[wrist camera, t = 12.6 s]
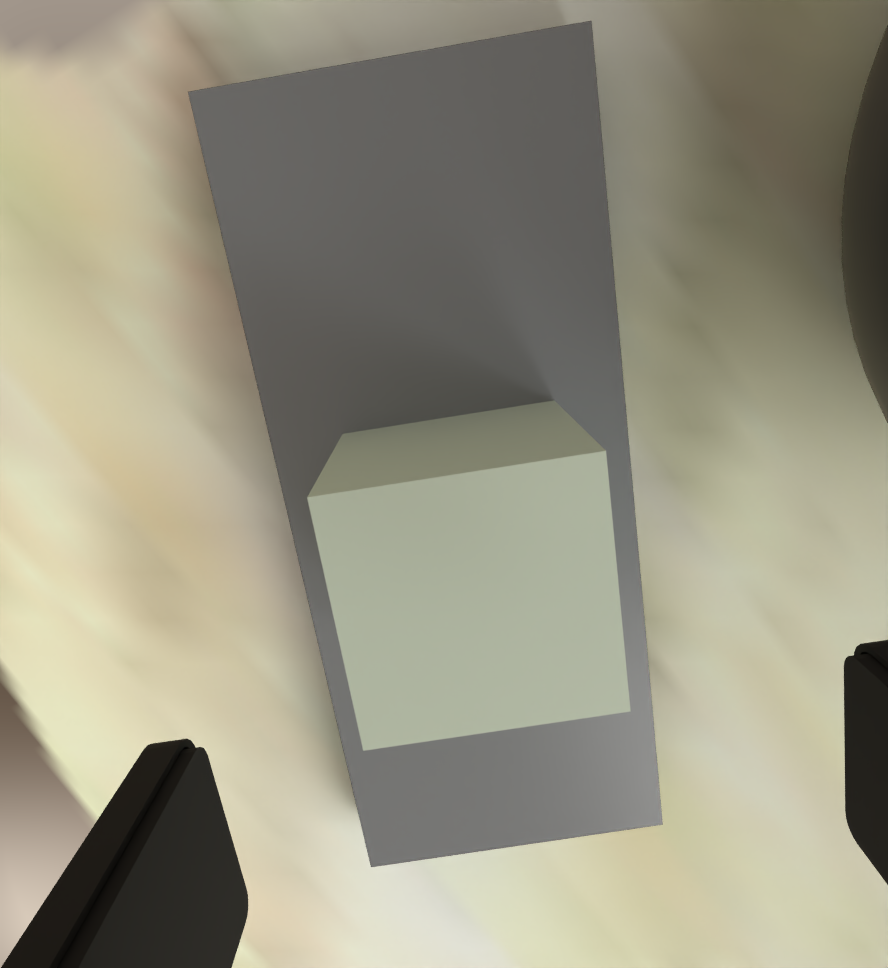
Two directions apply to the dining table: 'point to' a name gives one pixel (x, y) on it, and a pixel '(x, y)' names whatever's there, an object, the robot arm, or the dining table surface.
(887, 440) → the dining table surface
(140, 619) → the dining table surface
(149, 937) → the robot arm
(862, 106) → the coal bowl
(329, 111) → the board
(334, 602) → the block
